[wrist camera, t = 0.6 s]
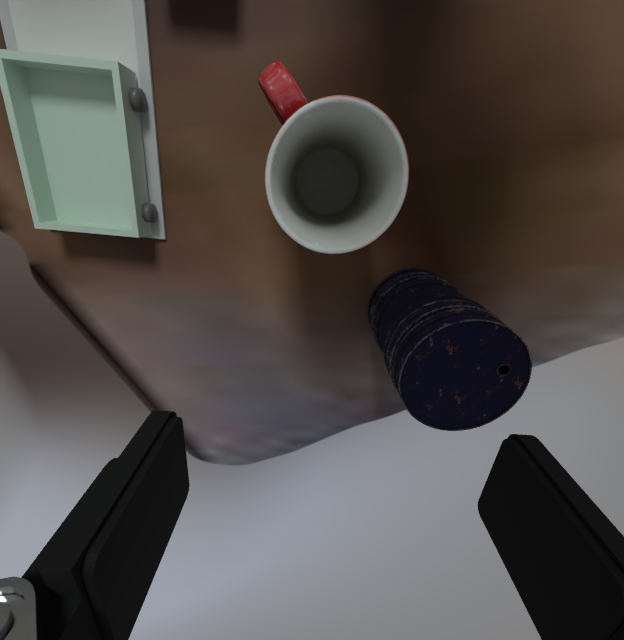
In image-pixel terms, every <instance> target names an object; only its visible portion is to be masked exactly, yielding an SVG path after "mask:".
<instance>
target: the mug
mask: <svg viewBox="0 0 624 640" xmlns="http://www.w3.org/2000/svg"><path fill="white" fill-rule="evenodd" d="M258 82H259V85H260V87H261V89H262V90H263V93H264V94H265V96H266V98H267V100H268V102H269V104H270V106H271V107H272V109H273V111H274V113H275V114H276V116H277V118H278V119H279V121H280V123H281V124H282V127H281V129H280V130H279V131H278V133H277V135H276V137H275V138H274V141H273V143H272V145H271V147H270V150H269V153H268V157H267V161H266V168H265V189H266V196H267V200H268V203H269V206H270V209H271V211H272V214H273V216H274V218H275V220H276V221H277V223H278V224H279V226H280V227H281V228H282V230H283V231H284V232H285V233H286V234H287V235H288V236H289V237H290V238H291V239H293V240H294V241H295V242H297V243H298V244H300V245H301V246H303V247H305V248H307V249H310V250H312V251H315V252H319V253H325V254H342V253H347V252H351V251H355V250H358V249H360V248H362V247H365V246H367V245H368V244H370V243H372V242H373V241H374V240H376V239H377V238H378V237H380V236H381V235H382V234H383V233H384V232H385V231H386V230H387V229H388V228H389V226H390V225H391V224H392V223H393V221H394V220H395V218H396V217H397V215H398V213H399V211H400V209H401V207H402V205H403V202H404V200H405V196H406V192H407V187H408V180H409V163H408V156H407V151H406V148H405V144H404V141H403V139H402V136H401V135H400V133H399V131H398V129H397V127H396V126H395V124H394V123H393V121H392V120H391V119H390V118H389V117H388V116H387V115H386V114H385V113H384V112H383V111H382V110H381V109H379V108H378V107H377V106H375V105H373V104H372V103H370V102H368V101H366V100H364V99H361V98H358V97H353V96H348V95H333V96H327V97H323V98H320V99H317V100H314V101H312V102H310V103H308V102H307V100H306V98H305V96H304V95H303V93H302V92H301V90H300V88H299V86H298V85H297V83H296V82H295V80H294V79H293V77H292V76H291V74H290V73H289V71H288V70H287V69H286V67H285V66H284V65H283V63H282V62H280V61H274V62H273V63H271V64H270V65H269V66H268V67H267V68H266V69H265V70H264V71H263V72H262V73H261V75H260V76H259V79H258Z"/></svg>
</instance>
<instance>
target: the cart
mask: <svg viewBox="0 0 624 640" xmlns="http://www.w3.org/2000/svg"><path fill="white" fill-rule="evenodd" d="M0 86H1V90H2V94H3V98H4V102H5V106H6V110H7V114H8V119H9V123H10V127H11V131H12V135H13V139H14V143H15V148H16V152H17V156H18V160H19V164H20V168H21V172H22V177H23V181H24V185H25V189H26V193H27V197H28V201H29V206H30V210H31V214H32V218H33V222H34V226H35V228H39V229H49V230H60V231H71V232H82V233H93V234H104V235H115V236H125V237H136V238H140V237H143V236H147V235H150V234H152V229H151V223H155V222H156V221H157V217H158V213H157V208H156V206H155V205H154V204H149V200H148V190H147V181H146V171H145V161H144V152H143V142H142V132H141V123H140V113H139V112H142V113H145V112H146V111H147V99H146V96H145V93H144V91H143V90H142V89H141V88H137V84H136V74H135V72H133V71H132V70H130V69H129V68H127V67H126V66H124V65H122V64H121V63H119V62H117V61H108V60H98V59H89V58H79V57H70V56H61V55H51V54H42V53H33V52H23V51H14V50H5V49H0Z"/></svg>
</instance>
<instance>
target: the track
mask: <svg viewBox="0 0 624 640" xmlns="http://www.w3.org/2000/svg"><path fill="white" fill-rule="evenodd" d="M0 20H1V25H2V29H3V34H4V38H5V43H6V47H7V50H14V51H23V52H33V53H42V54H51V55H61V56H70V57H79V58H89V59H98V60H108V61H117V62H119V63H121V64H122V65H124V66H126V67H127V68H129V69H130V70H132V71H133V72H135V74H136V84H137V88H141V89H142V90H143V91H144V93H145V96H146V99H147V111H146V112H145V113H142V112H139V113H140V123H141V132H142V142H143V152H144V161H145V171H146V181H147V190H148V200H149V204H154V205H155V206H156V208H157V213H158V217H157V221H156V222H155V223H151V229H152V234H150V235H147V236H143V237H144V238H155V239H166V230H165V218H164V207H163V195H162V184H161V172H160V161H159V149H158V138H157V126H156V115H155V103H154V92H153V80H152V69H151V57H150V46H149V34H148V22H147V11H146V0H0Z"/></svg>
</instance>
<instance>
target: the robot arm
mask: <svg viewBox="0 0 624 640" xmlns="http://www.w3.org/2000/svg"><path fill="white" fill-rule="evenodd" d="M188 491H189V477H188V468H187V459H186V449H185V440H184V431H183V422H182V418H180V417H177V416H176V413H175V412H170V411H155V410H154V411H152V412H151V414H150V415H149V416H148V417H147V419H146V420H145V422H144V423H143V424H142V426H141V427H140V428H139V430H138V431H137V433H136V434H135V435H134V437H133V438H132V439H131V441H130V442H129V444H128V445H127V446H126V448H125V449H124V451H123V452H122V453H121V455H120V456H119V457H118V458H114V459H112V460H111V461H110V462H108V464H107V465H106V466H105V467H104V468H103V469H102V471H101V472H100V473H99V475H98V476H97V477H96V479H95V480H94V481H93V483H92V484H91V485H90V487H89V488H88V489H87V491H86V492H85V493H84V495H83V496H82V498H81V499H80V500H79V502H78V503H77V504H76V506H75V507H74V508H73V510H72V511H71V512H70V514H69V515H68V516H67V518H66V519H65V520H64V522H63V523H62V524H61V526H60V527H59V528H58V530H57V531H56V532H55V534H54V535H53V536H52V538H51V539H50V540H49V542H48V543H47V544H46V546H45V547H44V548H43V550H42V551H41V552H40V554H39V555H38V556H37V558H36V559H35V560H34V562H33V563H32V564H31V566H30V567H29V569H28V570H27V571H26V572H25V574H24V575H23V576H22V578H19V577H9V578H4V579H0V640H128V639H129V637H130V634H131V632H132V629H133V627H134V624H135V622H136V619H137V617H138V615H139V612H140V610H141V607H142V605H143V602H144V600H145V598H146V595H147V593H148V590H149V588H150V585H151V583H152V581H153V578H154V576H155V573H156V571H157V568H158V566H159V563H160V561H161V559H162V556H163V554H164V551H165V549H166V547H167V544H168V542H169V539H170V537H171V534H172V532H173V530H174V527H175V525H176V522H177V520H178V517H179V515H180V513H181V510H182V508H183V505H184V503H185V500H186V498H187V495H188ZM478 510H479V514H480V517H481V519H482V521H483V523H484V525H485V526H486V528H487V530H488V533H489V534H490V537H491V539H492V541H493V543H494V545H495V546H496V549H497V550H498V553H499V555H500V557H501V559H502V561H503V563H504V565H505V567H506V569H507V571H508V573H509V575H510V577H511V579H512V581H513V583H514V584H515V587H516V589H517V591H518V593H519V595H520V597H521V599H522V601H523V603H524V605H525V607H526V609H527V611H528V613H529V615H530V617H531V619H532V621H533V623H534V625H535V627H536V629H537V631H538V633H539V635H540V637H541V639H542V640H624V536H623V535H622V534H621V533H620V532H619V531H618V530H617V528H616V527H615V526H614V525H613V524H612V523H611V522H610V520H609V519H608V518H607V517H606V516H605V515H604V514H603V512H602V511H601V510H600V509H599V508H598V507H597V506H596V505H595V503H594V502H593V501H592V500H591V499H590V498H589V496H588V495H587V494H586V493H585V492H584V491H583V490H582V489H581V487H580V486H579V485H578V484H577V483H576V482H575V481H574V479H573V478H572V477H571V476H570V475H569V474H568V473H567V471H566V470H565V469H564V468H563V467H562V466H561V465H560V464H559V462H558V461H557V460H556V459H555V458H554V457H553V456H552V454H551V453H550V452H549V451H548V450H547V449H546V447H544V445H543V444H542V443H541V442H540V441H539V440H538V439H537V438H536V437H534V436H532V435H517V434H511V435H510V436H509V437H508V439H505V440H503V442H502V444H501V447H500V449H499V452H498V454H497V456H496V459H495V461H494V464H493V466H492V469H491V471H490V474H489V476H488V479H487V481H486V483H485V486H484V489H483V491H482V493H481V496H480V498H479V501H478Z"/></svg>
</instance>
